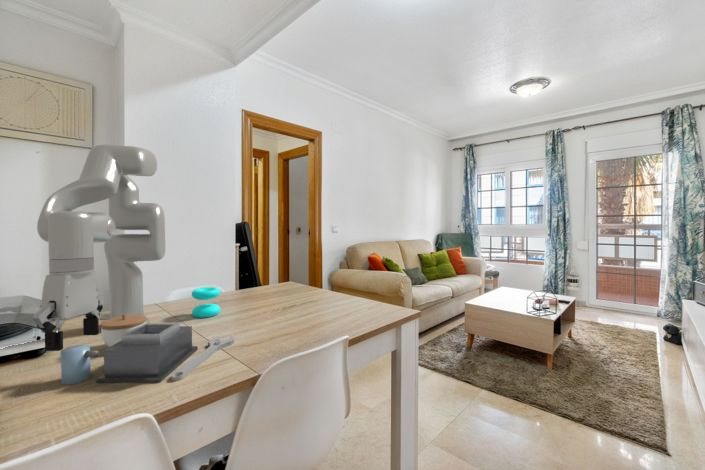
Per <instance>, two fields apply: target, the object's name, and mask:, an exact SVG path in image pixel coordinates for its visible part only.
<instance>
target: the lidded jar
mask: <svg viewBox="0 0 705 470" xmlns="http://www.w3.org/2000/svg"><path fill="white" fill-rule="evenodd" d="M146 317H147V315H126V314H122V316H119V317H114V318H110V319H107V320H102V322H101V323H100V330H101V332H100V333H101V337H102V341H103V343H104V344H105V345H106V346H107V348H109V347H111V346H112V345H114V344H116V343H118V342H120V341H121V336H122V335H124V334H126V333H127V332H129V331H131V330H133V329H135V328H137V327H139V326H141V325H143V324H146V320H147V318H148V317H147V318H146Z"/></svg>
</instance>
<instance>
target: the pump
mask: <svg viewBox="0 0 705 470" xmlns="http://www.w3.org/2000/svg"><path fill="white" fill-rule="evenodd" d="M99 355H100V350H91V346H90V345H89V344H77V345H72V346H69V347H65V348H63V349H62V350H60V370H61V371H60V372H61V384H62V385H67V386H68V385H75V384H79V383H82V382H85V381H86V380H88V379H90V378H91V376H92V375H91V374H92V372H91V371H92V370H91V358H98V357H99Z"/></svg>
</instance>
